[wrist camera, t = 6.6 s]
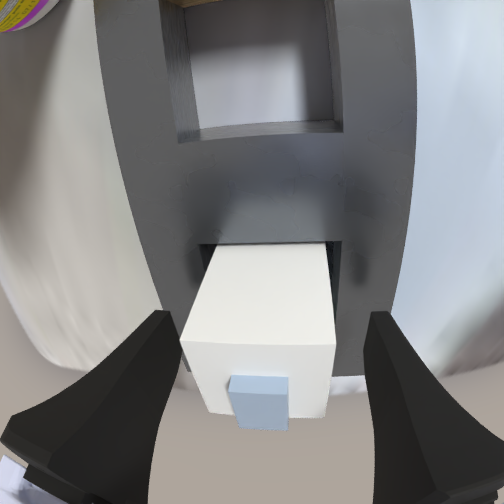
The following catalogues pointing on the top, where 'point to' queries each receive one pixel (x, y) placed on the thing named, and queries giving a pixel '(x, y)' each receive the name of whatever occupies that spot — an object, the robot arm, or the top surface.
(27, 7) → the supplement bottle
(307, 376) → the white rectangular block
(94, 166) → the top surface
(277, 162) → the panel
